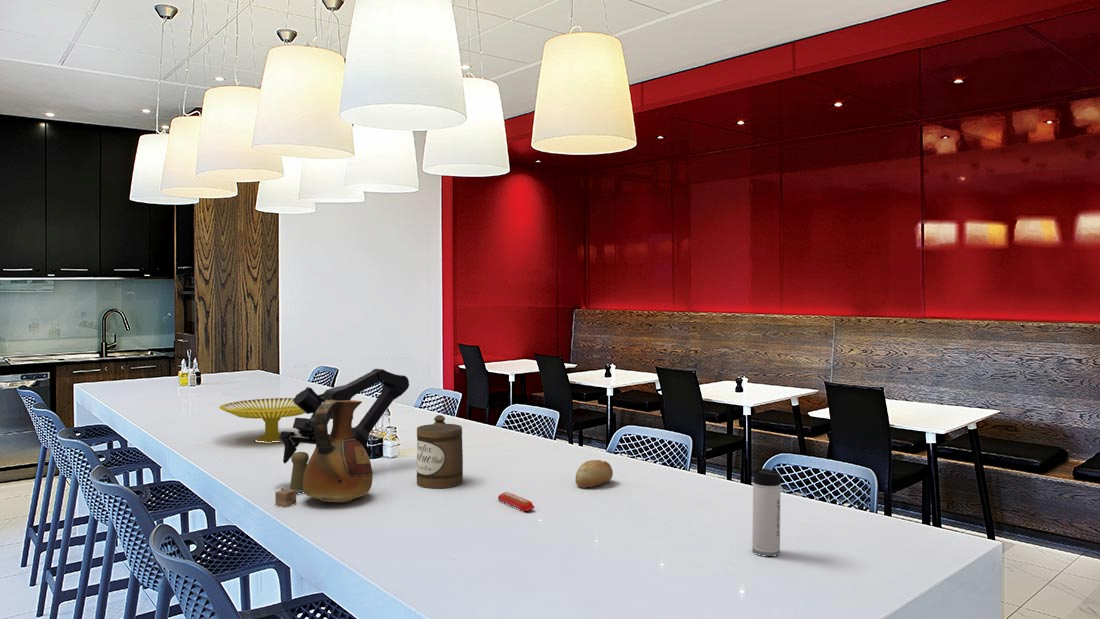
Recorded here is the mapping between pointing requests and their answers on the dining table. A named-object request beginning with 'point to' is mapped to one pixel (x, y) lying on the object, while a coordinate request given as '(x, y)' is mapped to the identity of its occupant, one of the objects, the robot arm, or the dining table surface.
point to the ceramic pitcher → (337, 457)
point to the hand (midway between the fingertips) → (296, 463)
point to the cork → (298, 469)
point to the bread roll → (593, 473)
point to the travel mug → (766, 512)
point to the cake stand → (265, 414)
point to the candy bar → (516, 501)
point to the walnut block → (285, 497)
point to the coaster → (290, 489)
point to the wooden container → (439, 454)
